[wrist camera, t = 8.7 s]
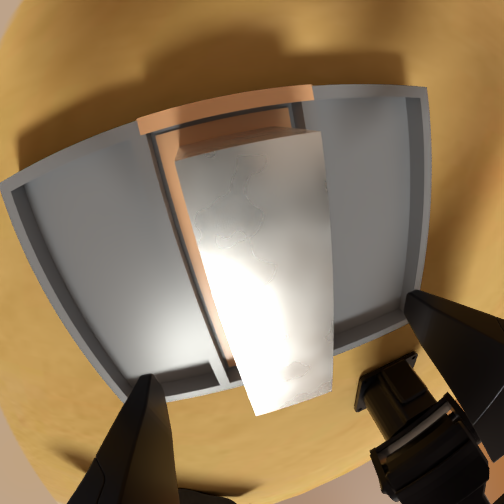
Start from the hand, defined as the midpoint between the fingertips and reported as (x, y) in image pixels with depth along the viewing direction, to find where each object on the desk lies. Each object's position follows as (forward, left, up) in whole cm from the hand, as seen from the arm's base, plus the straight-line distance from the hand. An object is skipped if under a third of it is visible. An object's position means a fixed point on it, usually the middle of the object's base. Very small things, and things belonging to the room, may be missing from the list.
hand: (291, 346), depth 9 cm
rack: (0, 0, -7) cm, 7 cm away
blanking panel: (0, 0, -6) cm, 6 cm away
